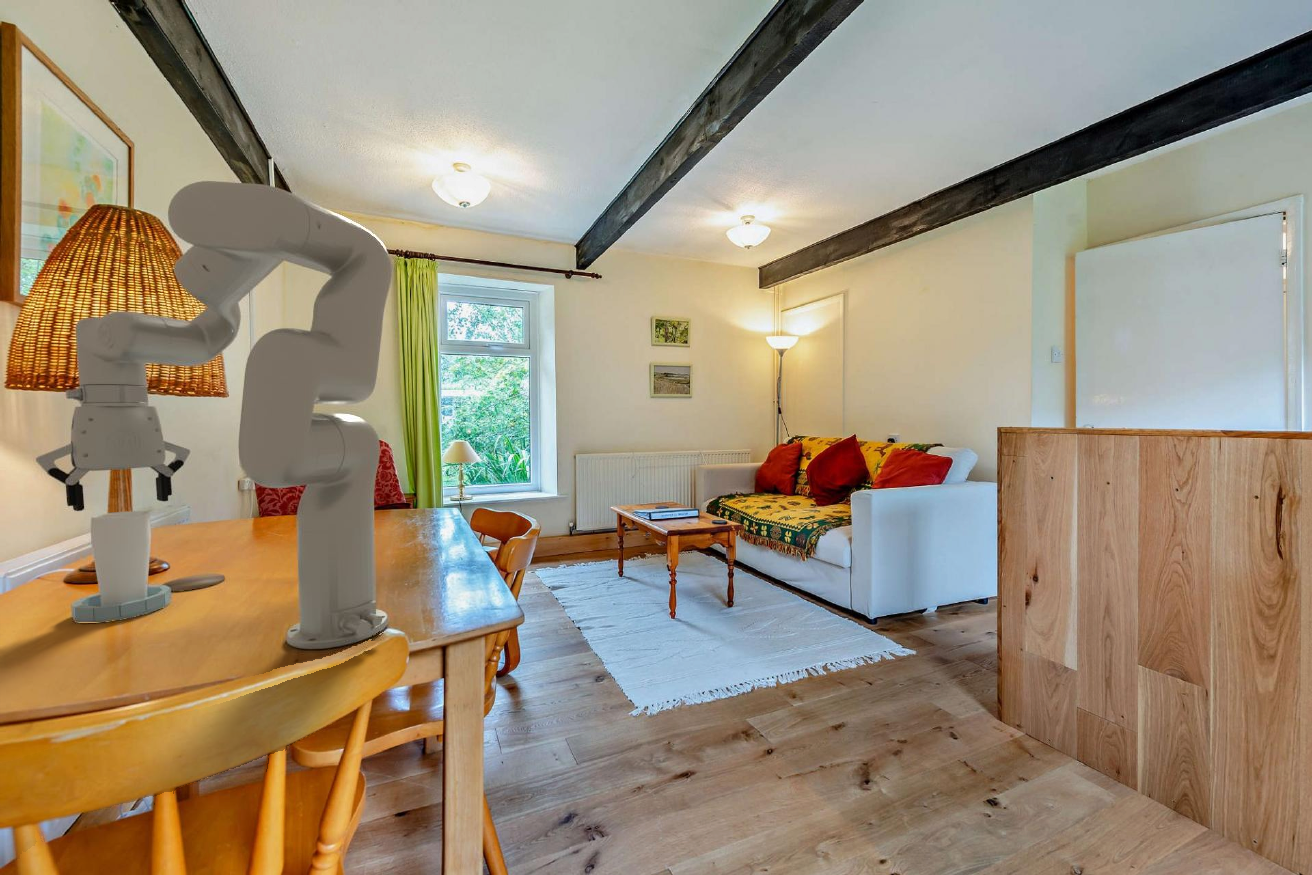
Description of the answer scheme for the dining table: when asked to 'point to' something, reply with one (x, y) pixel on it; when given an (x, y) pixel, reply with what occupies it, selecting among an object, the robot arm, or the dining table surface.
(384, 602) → the dining table surface
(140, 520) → the drinking glass
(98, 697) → the dining table surface
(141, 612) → the round dish
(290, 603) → the dining table surface
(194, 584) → the walnut coaster
